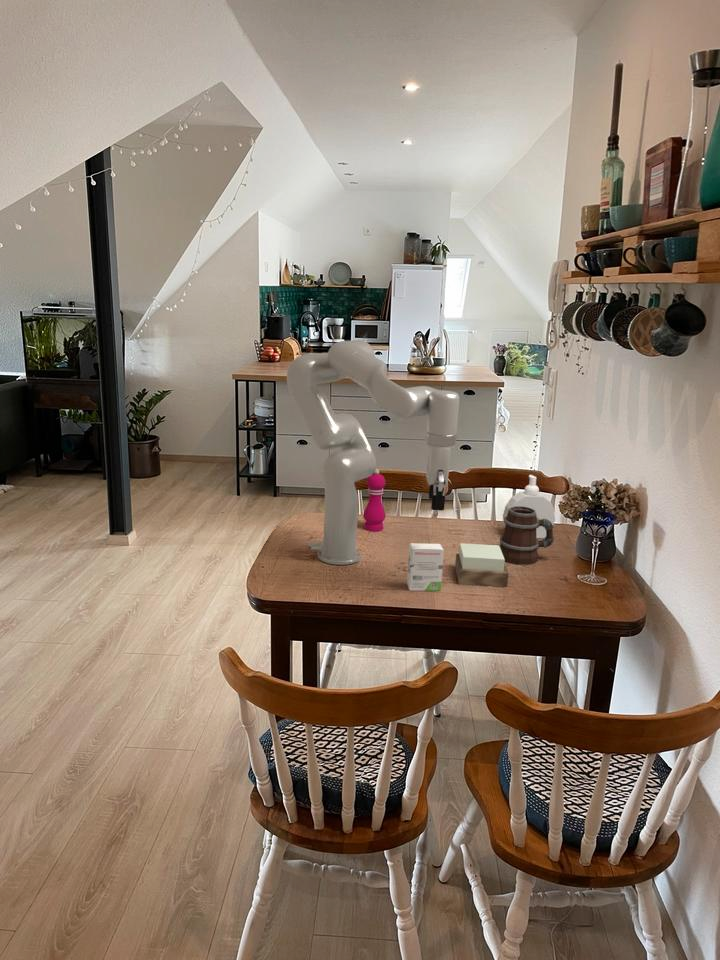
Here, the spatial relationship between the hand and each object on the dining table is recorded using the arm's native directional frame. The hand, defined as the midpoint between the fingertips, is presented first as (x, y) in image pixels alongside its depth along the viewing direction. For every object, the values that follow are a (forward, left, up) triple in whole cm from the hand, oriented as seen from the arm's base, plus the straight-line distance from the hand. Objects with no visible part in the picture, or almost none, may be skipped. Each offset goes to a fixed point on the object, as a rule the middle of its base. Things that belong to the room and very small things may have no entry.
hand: (436, 504), depth 191 cm
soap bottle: (+33, +47, -23) cm, 62 cm away
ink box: (-2, -1, -23) cm, 23 cm away
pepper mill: (-17, +44, -23) cm, 53 cm away
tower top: (+14, +9, -19) cm, 25 cm away
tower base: (+14, +8, -23) cm, 29 cm away
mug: (+29, +26, -23) cm, 45 cm away
